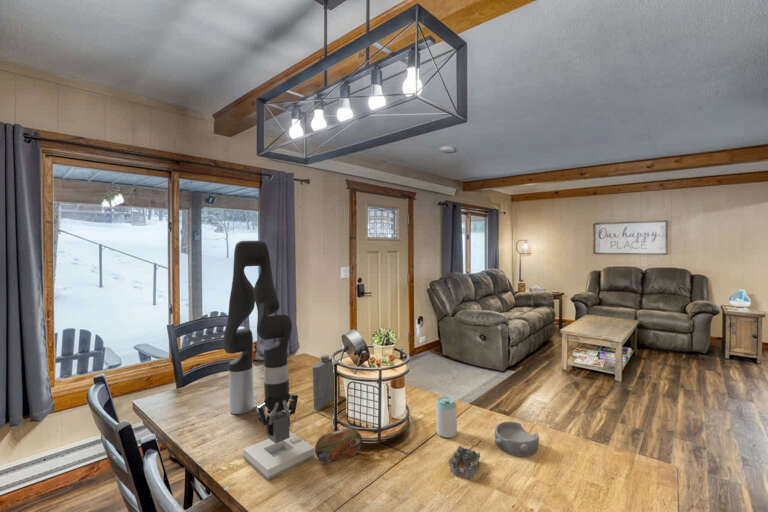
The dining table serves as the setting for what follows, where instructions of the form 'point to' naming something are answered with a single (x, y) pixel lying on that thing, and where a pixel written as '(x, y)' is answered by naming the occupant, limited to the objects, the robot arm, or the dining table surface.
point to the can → (446, 417)
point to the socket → (278, 455)
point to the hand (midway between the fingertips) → (278, 431)
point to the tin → (338, 445)
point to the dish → (515, 439)
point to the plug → (280, 427)
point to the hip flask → (323, 382)
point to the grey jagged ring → (464, 462)
